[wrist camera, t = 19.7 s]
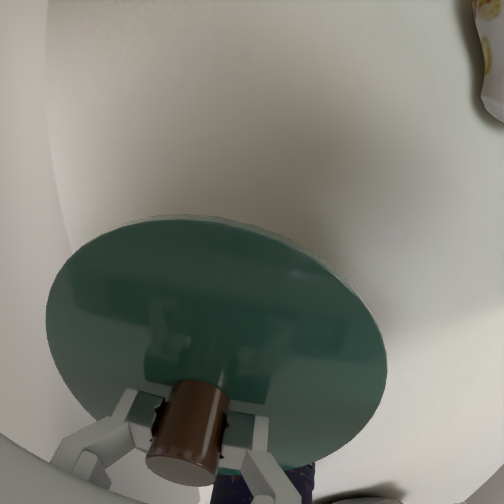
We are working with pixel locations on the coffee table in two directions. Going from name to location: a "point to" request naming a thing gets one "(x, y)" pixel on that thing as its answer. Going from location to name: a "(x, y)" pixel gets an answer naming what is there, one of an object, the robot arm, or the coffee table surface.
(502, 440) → the coffee table surface
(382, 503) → the vessel
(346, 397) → the pot lid
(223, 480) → the storage jar
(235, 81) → the coffee table surface
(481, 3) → the painted ceramic vase
